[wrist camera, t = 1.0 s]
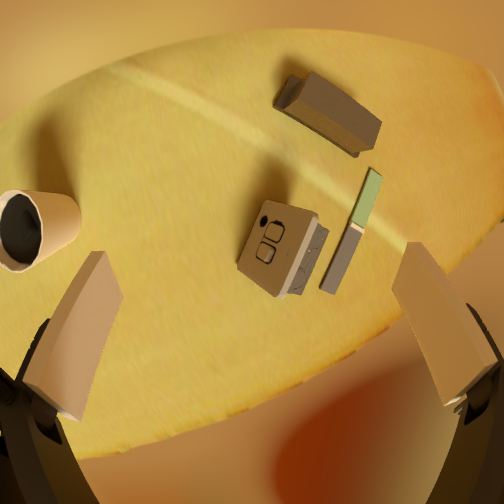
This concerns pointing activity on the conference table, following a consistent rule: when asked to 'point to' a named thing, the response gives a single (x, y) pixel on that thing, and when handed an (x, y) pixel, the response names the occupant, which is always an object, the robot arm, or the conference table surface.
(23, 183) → the conference table surface
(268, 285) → the electrical switch
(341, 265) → the green and grey strip
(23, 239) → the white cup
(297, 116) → the block
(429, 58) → the conference table surface
